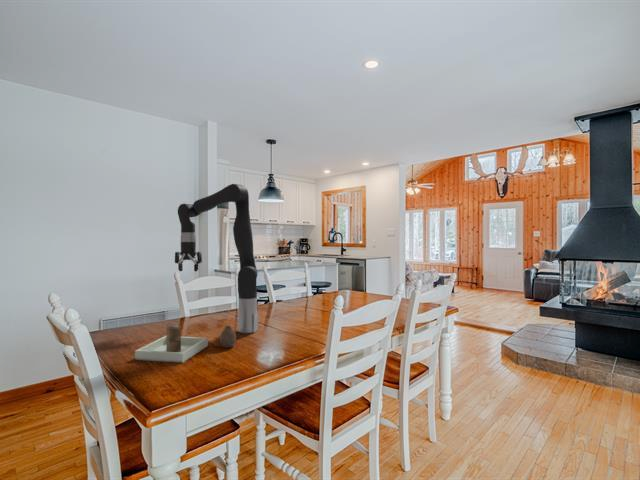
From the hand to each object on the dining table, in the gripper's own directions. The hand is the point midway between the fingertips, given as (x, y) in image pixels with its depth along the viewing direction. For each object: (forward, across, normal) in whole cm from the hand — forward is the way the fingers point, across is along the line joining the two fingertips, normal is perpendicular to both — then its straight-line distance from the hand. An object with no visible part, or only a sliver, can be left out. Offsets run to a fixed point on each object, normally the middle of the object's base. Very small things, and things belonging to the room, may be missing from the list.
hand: (188, 271), depth 179 cm
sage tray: (+30, +15, -39) cm, 52 cm away
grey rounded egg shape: (+30, +34, -29) cm, 54 cm away
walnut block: (+29, +15, -39) cm, 51 cm away
